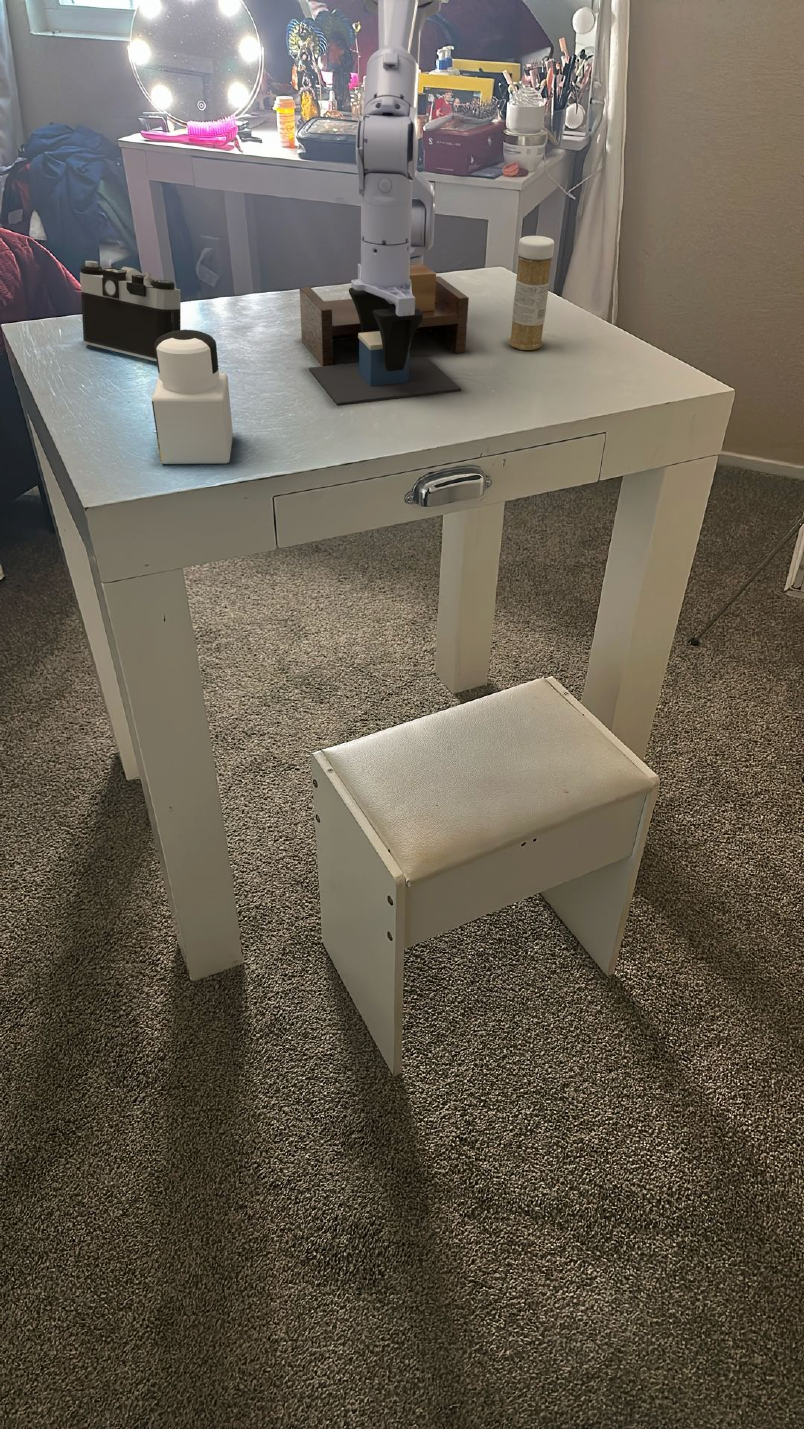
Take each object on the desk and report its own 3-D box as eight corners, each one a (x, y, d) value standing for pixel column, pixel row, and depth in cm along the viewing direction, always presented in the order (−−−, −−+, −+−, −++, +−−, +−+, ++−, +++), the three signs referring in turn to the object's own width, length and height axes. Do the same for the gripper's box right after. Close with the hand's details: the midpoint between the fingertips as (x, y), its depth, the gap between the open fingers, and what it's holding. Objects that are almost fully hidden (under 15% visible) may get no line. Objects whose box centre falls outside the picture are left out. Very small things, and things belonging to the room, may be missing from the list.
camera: (213, 356, 125) (214, 275, 120) (160, 364, 117) (159, 277, 112) (128, 336, 130) (126, 257, 125) (71, 343, 122) (66, 258, 117)
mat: (308, 369, 119) (308, 367, 119) (425, 357, 123) (425, 355, 123) (337, 405, 110) (337, 402, 110) (460, 390, 115) (461, 388, 115)
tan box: (391, 303, 125) (392, 266, 122) (422, 300, 126) (423, 264, 123) (403, 313, 122) (404, 275, 119) (434, 310, 123) (436, 273, 120)
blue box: (358, 373, 118) (358, 332, 114) (396, 369, 119) (397, 329, 116) (370, 386, 114) (370, 345, 111) (409, 382, 116) (410, 341, 113)
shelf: (301, 341, 127) (299, 287, 122) (437, 328, 133) (439, 276, 128) (322, 367, 120) (321, 310, 115) (465, 352, 125) (469, 297, 121)
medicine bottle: (167, 436, 102) (152, 323, 95) (233, 436, 103) (223, 324, 95) (160, 465, 97) (143, 348, 89) (229, 464, 98) (218, 348, 90)
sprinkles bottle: (525, 338, 130) (537, 232, 122) (548, 347, 128) (562, 240, 119) (501, 344, 128) (512, 237, 120) (525, 353, 126) (537, 245, 117)
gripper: (333, 225, 110) (335, 342, 119) (373, 258, 100) (372, 383, 109) (389, 222, 112) (387, 337, 121) (434, 253, 102) (428, 377, 111)
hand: (384, 358), depth 115 cm, fingers open, 7 cm apart
